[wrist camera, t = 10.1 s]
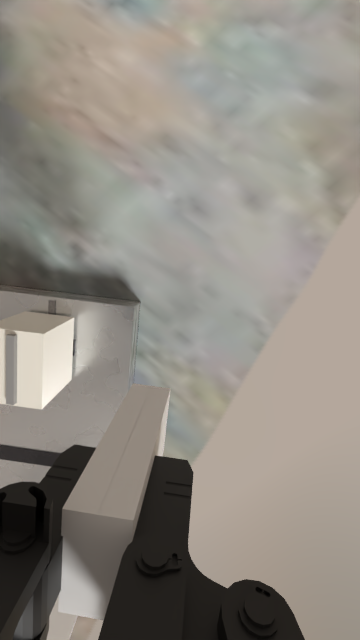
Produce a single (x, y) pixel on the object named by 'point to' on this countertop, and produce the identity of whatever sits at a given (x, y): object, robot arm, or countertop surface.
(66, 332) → the block
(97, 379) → the console
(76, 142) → the countertop surface
